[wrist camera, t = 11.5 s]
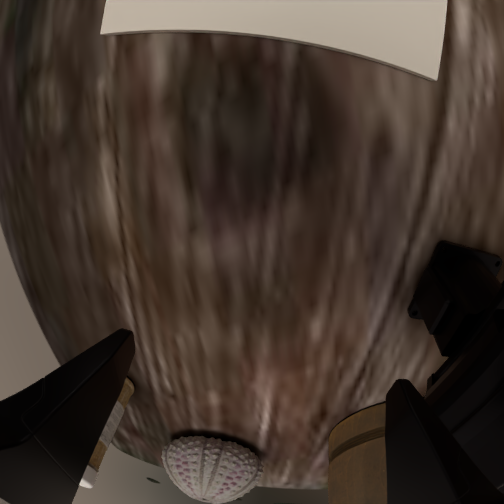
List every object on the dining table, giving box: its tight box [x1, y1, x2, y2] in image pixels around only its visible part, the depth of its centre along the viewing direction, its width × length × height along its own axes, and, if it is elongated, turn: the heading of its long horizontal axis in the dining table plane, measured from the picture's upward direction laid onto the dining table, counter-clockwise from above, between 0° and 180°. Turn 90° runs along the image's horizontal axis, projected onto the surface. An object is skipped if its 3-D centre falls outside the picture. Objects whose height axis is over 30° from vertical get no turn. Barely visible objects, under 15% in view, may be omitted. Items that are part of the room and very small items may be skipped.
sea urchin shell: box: [161, 436, 264, 504], centre depth 33 cm, size 13×14×8 cm
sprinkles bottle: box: [79, 377, 134, 488], centre depth 26 cm, size 5×5×13 cm
